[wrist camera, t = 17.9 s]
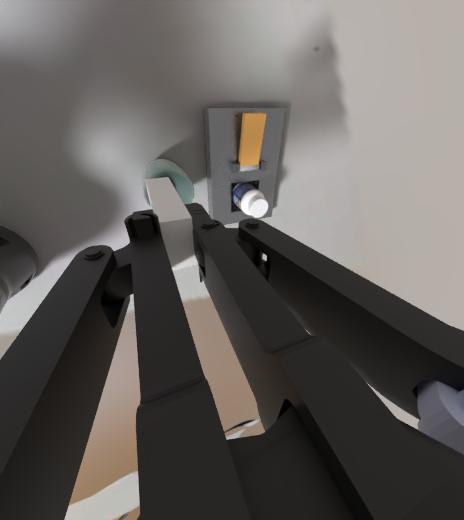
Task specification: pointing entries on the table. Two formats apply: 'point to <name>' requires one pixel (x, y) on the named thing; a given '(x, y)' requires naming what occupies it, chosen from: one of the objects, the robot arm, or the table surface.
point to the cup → (175, 175)
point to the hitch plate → (227, 156)
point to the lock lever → (251, 141)
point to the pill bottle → (249, 199)
